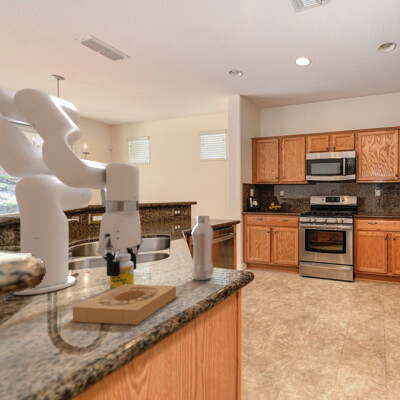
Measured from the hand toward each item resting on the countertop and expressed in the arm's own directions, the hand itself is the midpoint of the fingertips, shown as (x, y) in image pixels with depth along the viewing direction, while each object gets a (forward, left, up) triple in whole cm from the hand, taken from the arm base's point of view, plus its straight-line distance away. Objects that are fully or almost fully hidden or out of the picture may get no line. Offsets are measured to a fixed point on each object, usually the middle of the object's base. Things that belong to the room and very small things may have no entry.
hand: (122, 271), depth 70 cm
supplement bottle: (0, 0, -5) cm, 5 cm away
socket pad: (+11, -11, -5) cm, 16 cm away
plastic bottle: (+18, +11, -5) cm, 22 cm away
